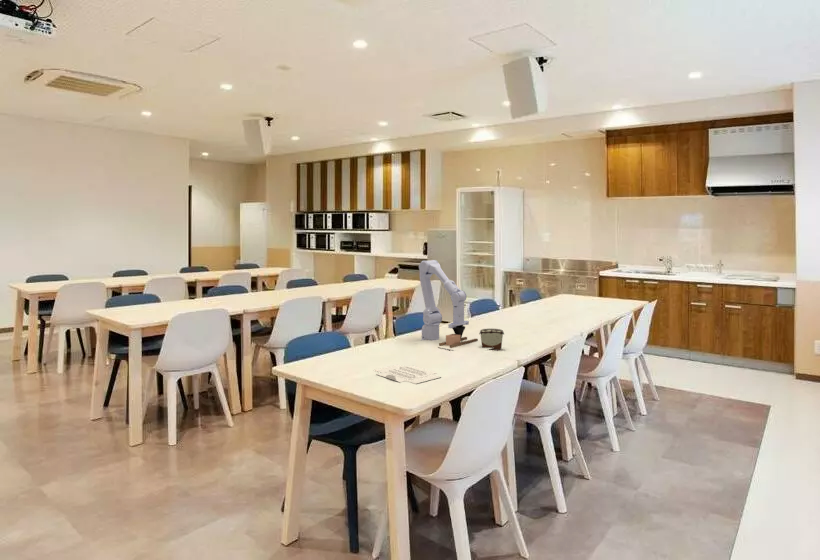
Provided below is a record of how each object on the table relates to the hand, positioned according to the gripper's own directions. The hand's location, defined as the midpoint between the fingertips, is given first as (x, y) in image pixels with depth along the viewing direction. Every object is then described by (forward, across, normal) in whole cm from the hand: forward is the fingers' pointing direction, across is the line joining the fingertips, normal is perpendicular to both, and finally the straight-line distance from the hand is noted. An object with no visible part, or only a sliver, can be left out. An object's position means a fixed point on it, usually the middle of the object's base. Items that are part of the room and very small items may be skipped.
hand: (458, 340), depth 279 cm
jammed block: (+2, -5, 0) cm, 5 cm away
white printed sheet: (+4, -58, -18) cm, 60 cm away
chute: (+3, 0, 0) cm, 3 cm away
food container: (+3, +5, -17) cm, 18 cm away
